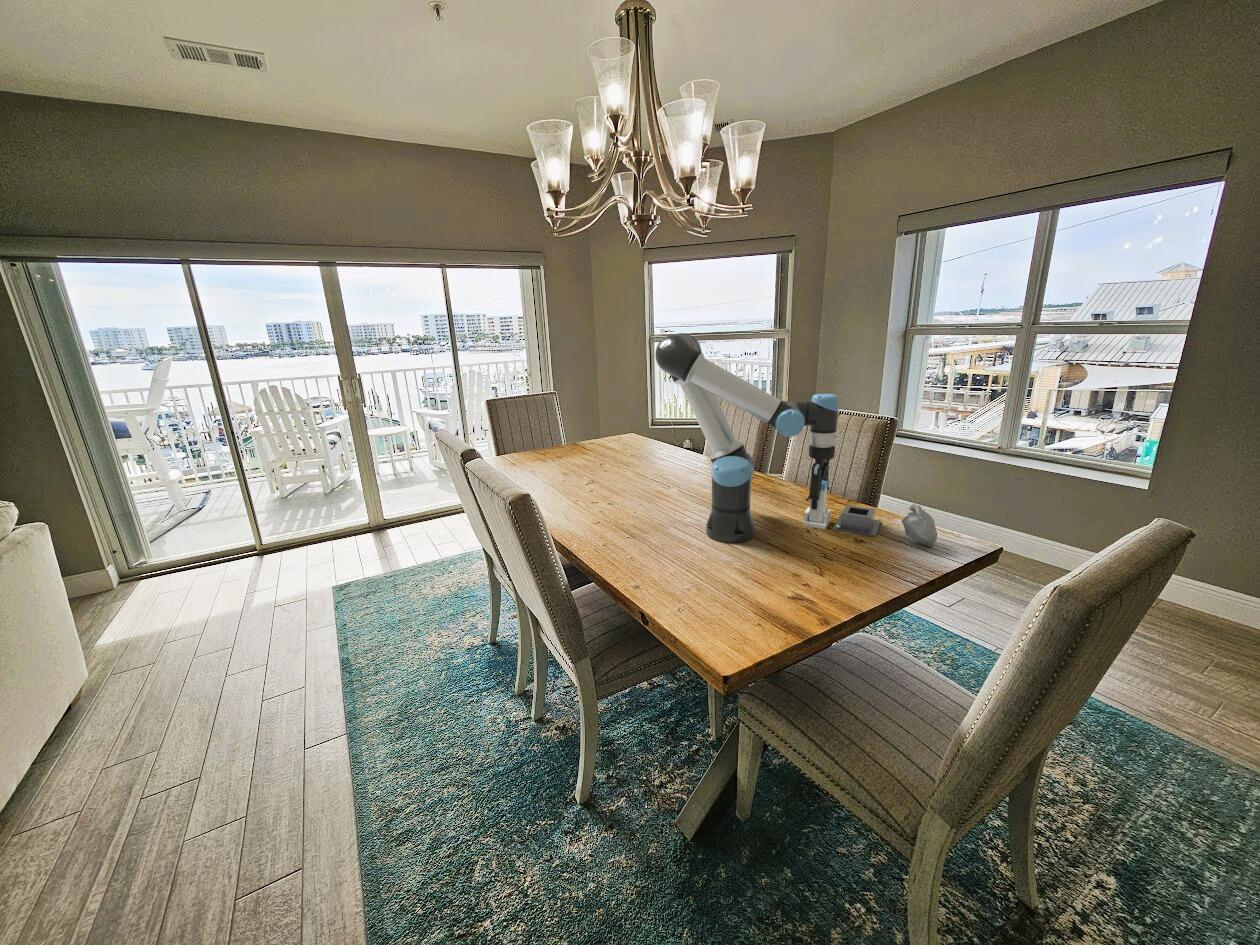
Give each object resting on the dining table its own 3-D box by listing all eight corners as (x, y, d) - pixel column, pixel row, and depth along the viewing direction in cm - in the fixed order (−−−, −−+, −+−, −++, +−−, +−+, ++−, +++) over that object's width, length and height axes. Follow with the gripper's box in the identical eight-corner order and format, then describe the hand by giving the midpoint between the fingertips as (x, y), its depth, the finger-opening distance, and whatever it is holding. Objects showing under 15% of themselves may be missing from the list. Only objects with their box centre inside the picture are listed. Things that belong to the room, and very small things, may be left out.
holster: (802, 525, 154) (803, 513, 152) (807, 518, 159) (808, 506, 158) (825, 529, 150) (826, 517, 149) (830, 521, 155) (831, 510, 154)
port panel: (832, 529, 149) (833, 515, 148) (840, 516, 160) (841, 501, 158) (875, 537, 143) (876, 521, 141) (880, 522, 153) (882, 507, 152)
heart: (913, 554, 131) (926, 513, 128) (889, 539, 140) (901, 501, 137) (944, 556, 133) (958, 515, 130) (919, 541, 142) (931, 503, 138)
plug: (808, 524, 154) (811, 482, 150) (811, 519, 158) (814, 479, 154) (821, 526, 152) (824, 484, 148) (824, 522, 155) (827, 480, 151)
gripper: (827, 453, 137) (822, 527, 144) (841, 438, 154) (836, 504, 160) (800, 451, 141) (796, 522, 148) (817, 436, 158) (813, 501, 164)
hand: (817, 513), depth 154 cm, fingers open, 8 cm apart
